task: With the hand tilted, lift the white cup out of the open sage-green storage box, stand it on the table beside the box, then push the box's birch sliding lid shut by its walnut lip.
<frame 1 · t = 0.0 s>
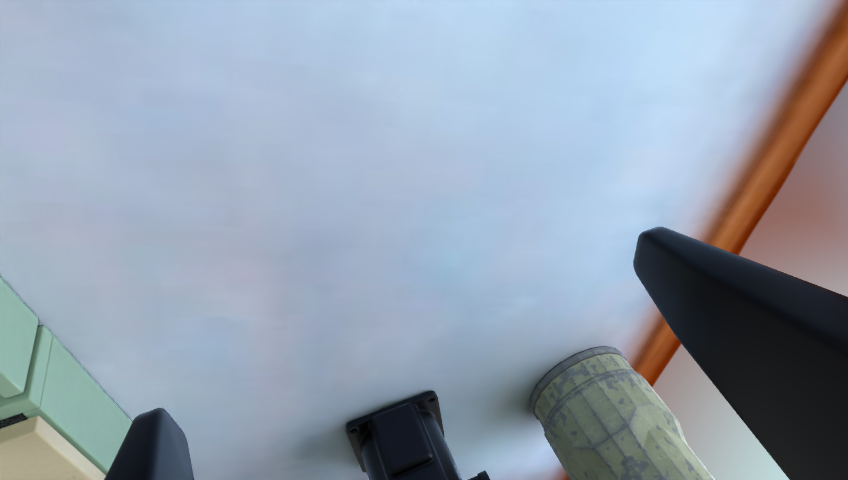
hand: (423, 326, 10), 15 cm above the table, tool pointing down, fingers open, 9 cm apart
thermos: (574, 381, 45), on the table
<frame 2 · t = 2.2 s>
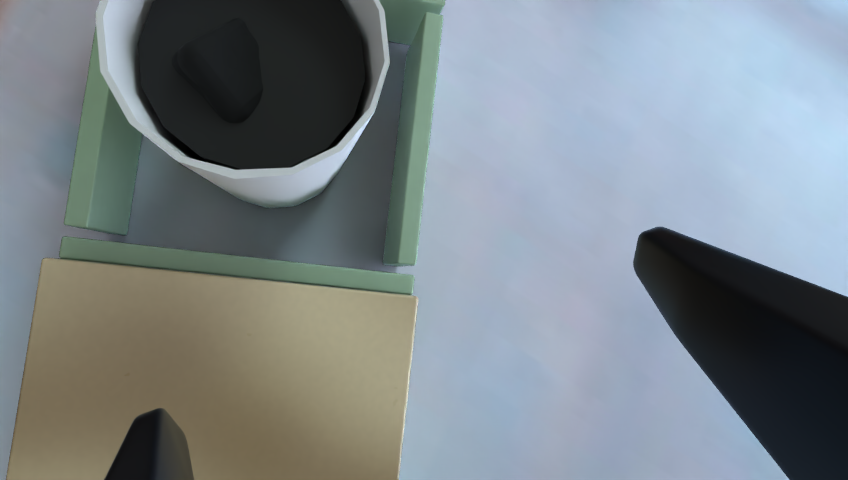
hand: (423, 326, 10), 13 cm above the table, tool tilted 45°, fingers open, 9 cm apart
white cup: (275, 139, 23), resting in storage box
sliding lid: (214, 469, 16), point 6 cm above the table, slide at 11.4 cm
storage box: (275, 138, 23), on the table
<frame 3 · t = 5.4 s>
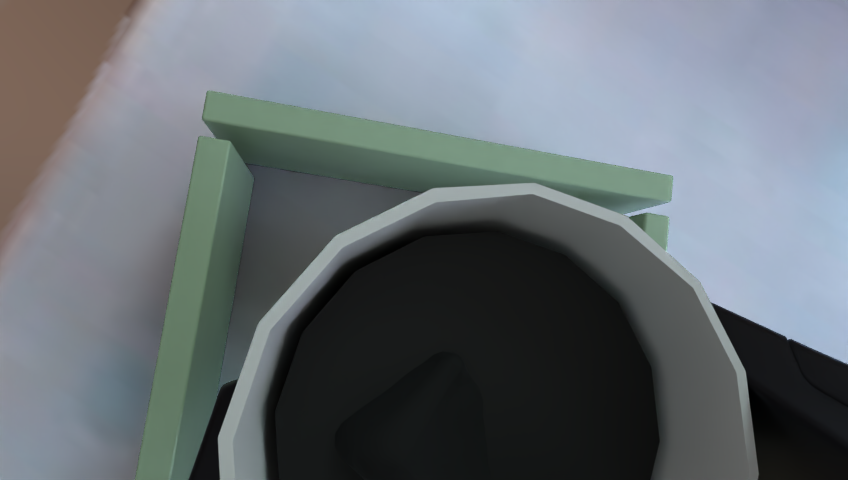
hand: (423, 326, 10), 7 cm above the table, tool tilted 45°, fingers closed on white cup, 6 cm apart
white cup: (400, 356, 17), resting in storage box, touching gripper
storage box: (401, 357, 16), on the table
when the fingers open (7 cm above the table, at t = 11.7 s): white cup stays where it is, on the table.
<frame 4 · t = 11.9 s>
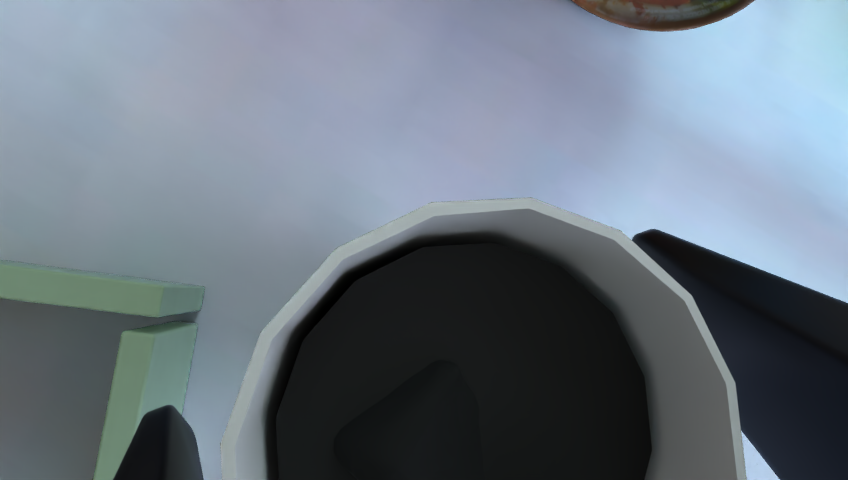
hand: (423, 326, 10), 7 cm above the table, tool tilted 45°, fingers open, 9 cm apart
white cup: (399, 360, 17), on the table
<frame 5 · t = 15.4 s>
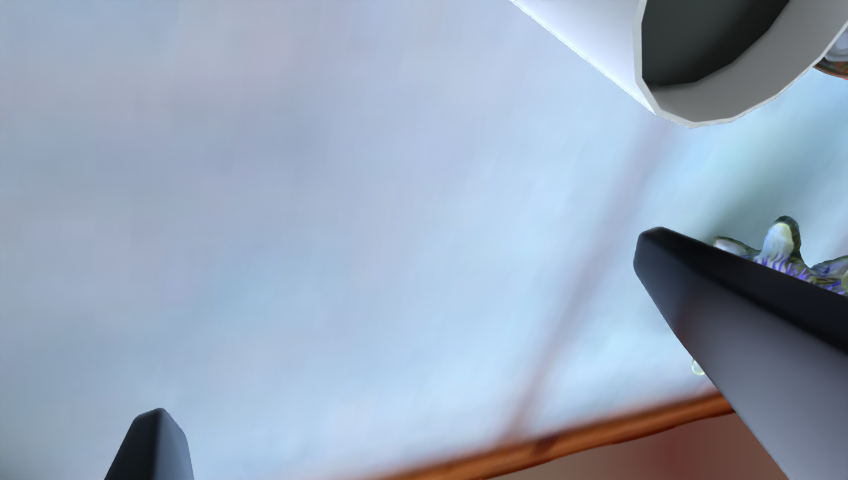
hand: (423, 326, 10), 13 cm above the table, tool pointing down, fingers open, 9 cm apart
passion flower: (719, 263, 38), on the table
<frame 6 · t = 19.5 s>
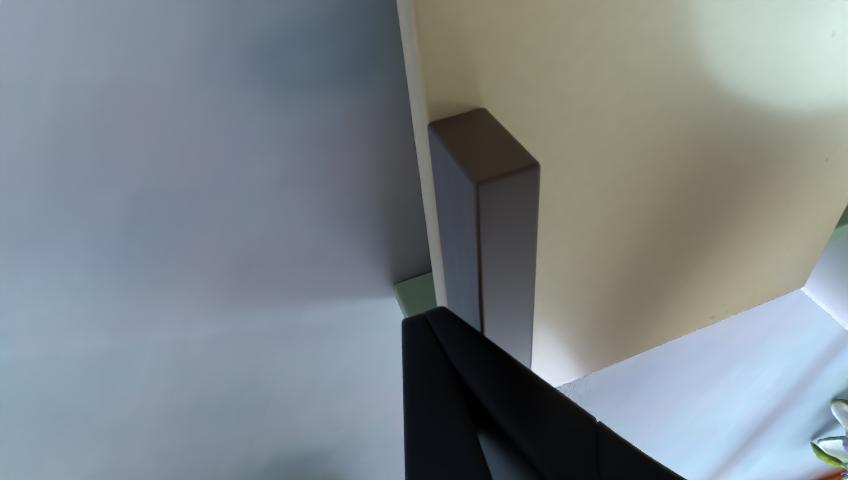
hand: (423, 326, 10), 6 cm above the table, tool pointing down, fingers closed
white cup: (831, 230, 26), on the table
sliding lid: (705, 207, 11), point 6 cm above the table, slide at 11.2 cm, touching gripper
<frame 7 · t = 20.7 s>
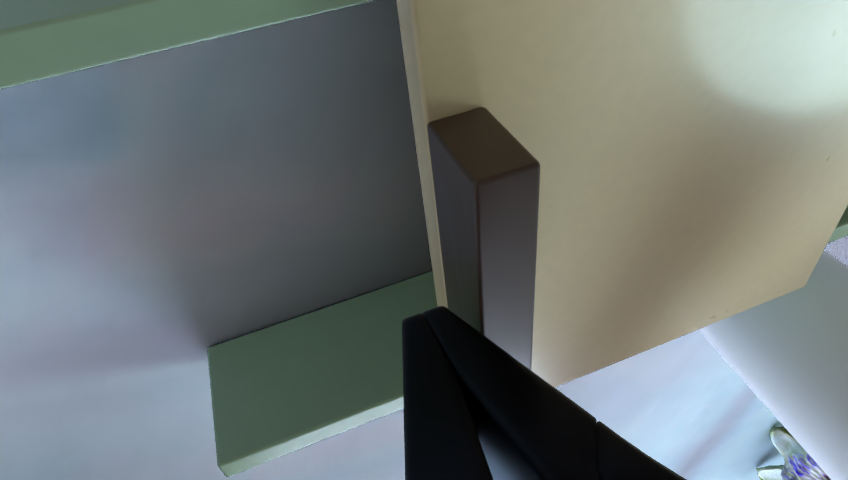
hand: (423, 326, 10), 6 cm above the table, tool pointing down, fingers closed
white cup: (729, 269, 25), on the table
sliding lid: (705, 206, 11), point 6 cm above the table, slide at 5.3 cm, touching gripper
storage box: (720, 49, 17), on the table
passion flower: (798, 424, 45), on the table
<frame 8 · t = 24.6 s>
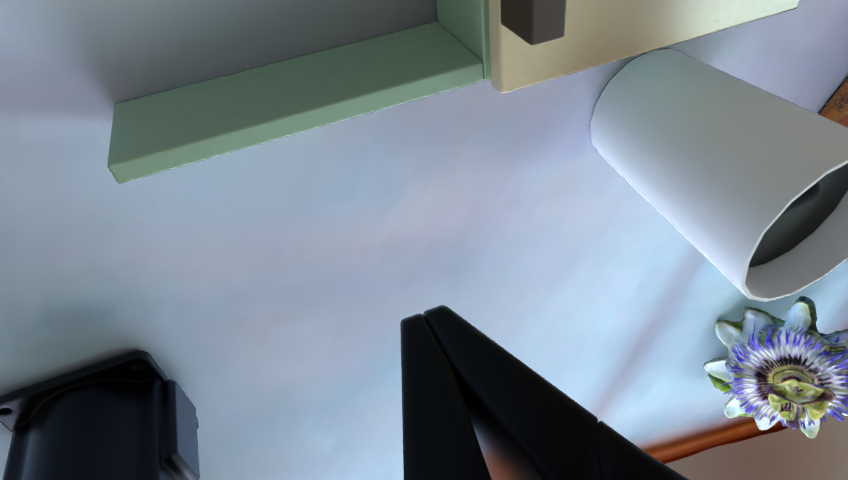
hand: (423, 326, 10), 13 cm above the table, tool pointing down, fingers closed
white cup: (640, 106, 27), on the table
passion flower: (745, 323, 46), on the table
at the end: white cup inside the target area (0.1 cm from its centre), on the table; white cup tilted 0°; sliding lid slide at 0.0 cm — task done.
